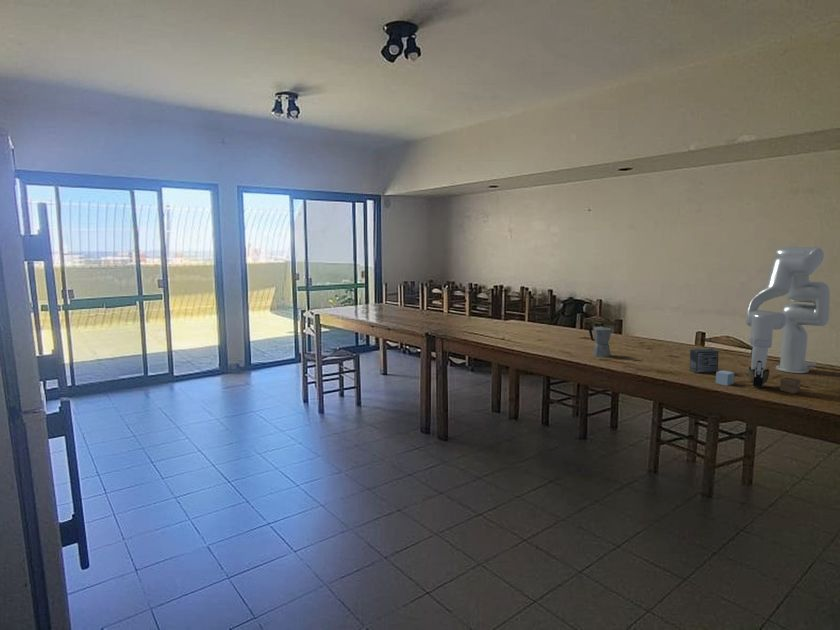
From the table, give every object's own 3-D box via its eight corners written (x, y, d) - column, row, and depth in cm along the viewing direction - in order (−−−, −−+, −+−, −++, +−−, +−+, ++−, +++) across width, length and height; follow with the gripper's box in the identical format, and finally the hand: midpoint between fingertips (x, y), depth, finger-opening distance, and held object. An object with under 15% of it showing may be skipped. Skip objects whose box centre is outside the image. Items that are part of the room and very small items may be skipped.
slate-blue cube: (722, 381, 225) (722, 370, 224) (733, 383, 220) (734, 372, 220) (715, 383, 222) (716, 371, 222) (727, 385, 218) (727, 374, 217)
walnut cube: (786, 388, 212) (786, 377, 211) (799, 391, 208) (800, 379, 207) (779, 390, 209) (780, 378, 209) (793, 393, 205) (794, 381, 204)
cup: (763, 384, 218) (764, 366, 216) (771, 389, 210) (773, 370, 209) (744, 384, 219) (745, 366, 218) (752, 389, 212) (753, 370, 211)
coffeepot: (617, 356, 277) (618, 323, 275) (606, 358, 272) (607, 325, 270) (593, 351, 290) (594, 320, 287) (582, 353, 285) (583, 322, 282)
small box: (710, 369, 245) (711, 348, 244) (718, 372, 239) (719, 351, 237) (688, 370, 245) (689, 348, 243) (696, 373, 238) (697, 351, 237)
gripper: (750, 338, 221) (748, 378, 224) (749, 345, 207) (746, 388, 209) (771, 340, 217) (768, 380, 219) (771, 347, 203) (768, 390, 205)
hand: (757, 384), depth 214 cm, fingers closed on cup, 6 cm apart
